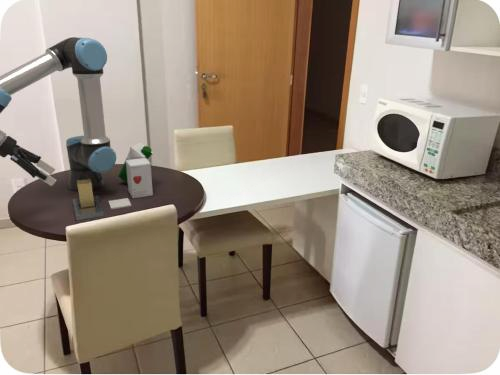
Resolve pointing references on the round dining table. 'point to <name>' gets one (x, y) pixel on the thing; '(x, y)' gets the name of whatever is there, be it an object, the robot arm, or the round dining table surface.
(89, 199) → the gold metal column
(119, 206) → the mat
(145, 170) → the supplement box
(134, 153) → the milk carton
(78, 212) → the grey metal slotted plate
